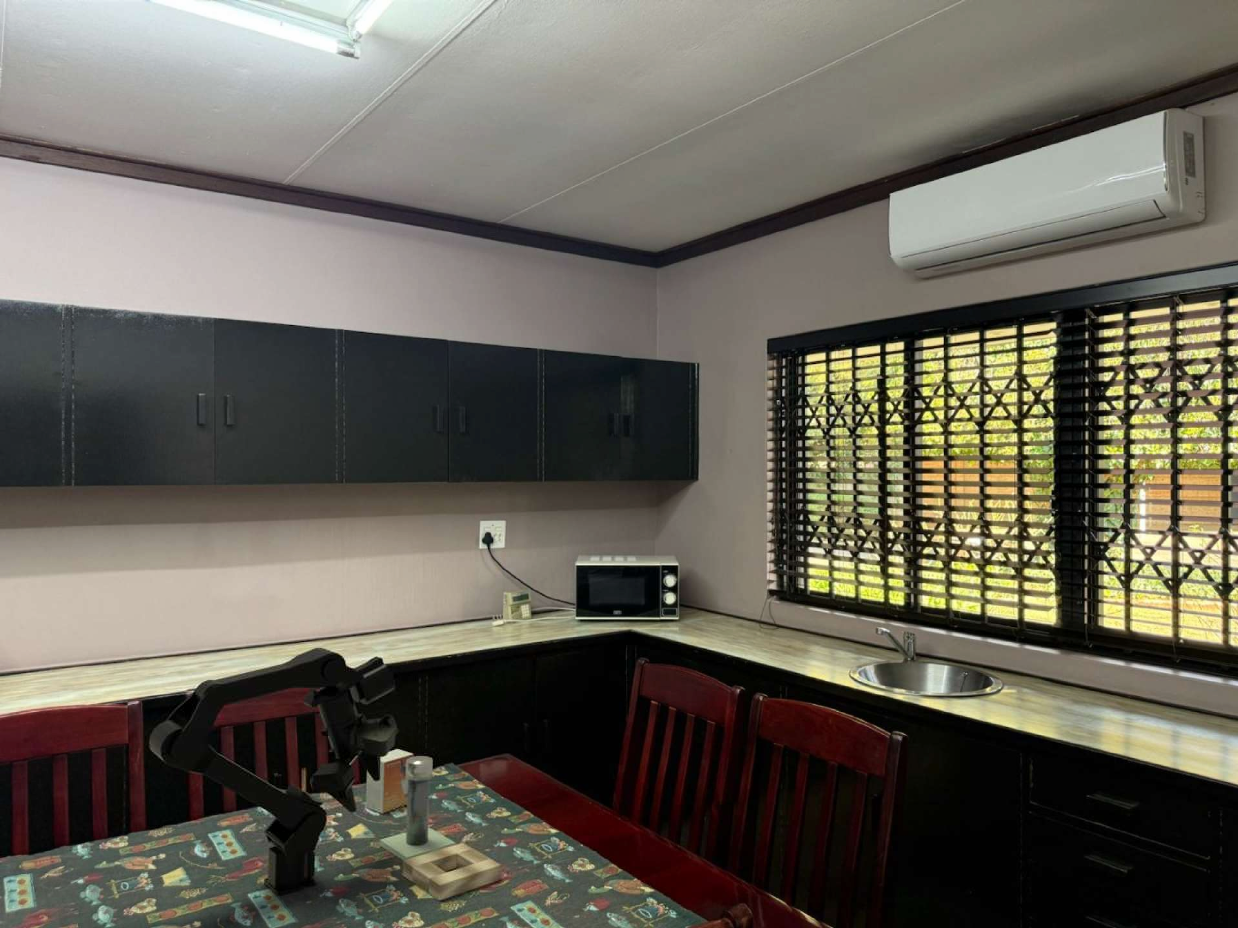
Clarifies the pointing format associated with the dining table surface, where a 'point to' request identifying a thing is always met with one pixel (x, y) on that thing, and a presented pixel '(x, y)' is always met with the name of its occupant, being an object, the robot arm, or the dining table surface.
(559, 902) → the dining table surface
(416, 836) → the dome-ended metal peg
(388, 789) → the small box
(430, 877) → the socket block
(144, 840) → the dining table surface
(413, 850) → the pad
